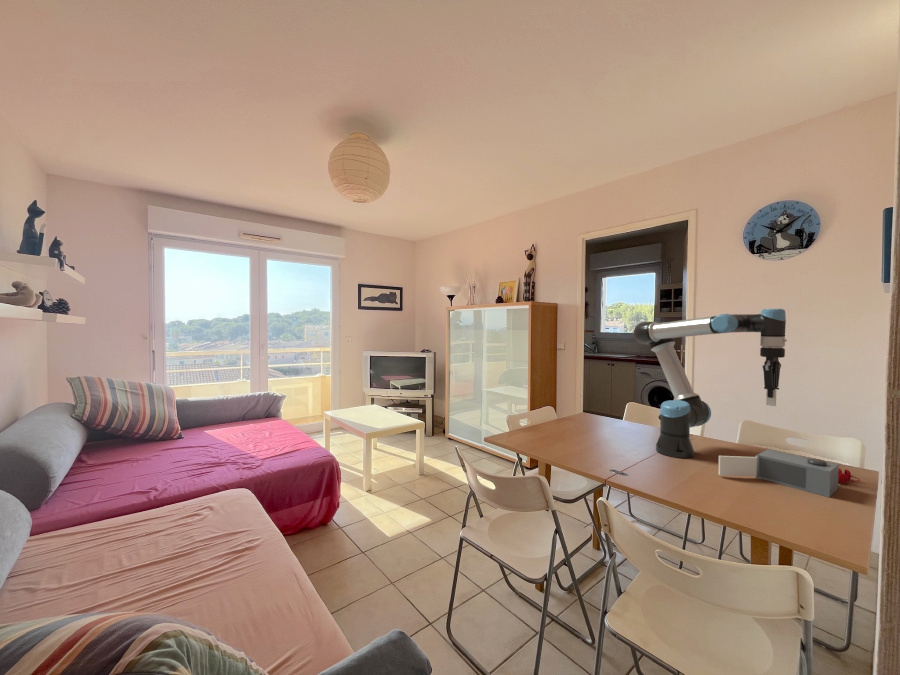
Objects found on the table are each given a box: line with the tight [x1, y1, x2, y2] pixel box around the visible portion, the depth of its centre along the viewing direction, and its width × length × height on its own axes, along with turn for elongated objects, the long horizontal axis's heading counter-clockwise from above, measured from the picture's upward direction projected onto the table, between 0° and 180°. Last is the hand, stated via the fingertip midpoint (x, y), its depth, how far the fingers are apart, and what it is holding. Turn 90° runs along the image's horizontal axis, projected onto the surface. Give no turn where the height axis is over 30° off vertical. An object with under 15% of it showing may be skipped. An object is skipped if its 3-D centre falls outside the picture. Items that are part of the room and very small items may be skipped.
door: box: [718, 454, 759, 479], centre depth 145 cm, size 14×2×8 cm, turn 83°
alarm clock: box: [838, 467, 861, 485], centre depth 143 cm, size 10×6×15 cm
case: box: [756, 448, 840, 498], centre depth 139 cm, size 20×12×10 cm, turn 34°
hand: (771, 405), depth 151 cm, fingers closed
